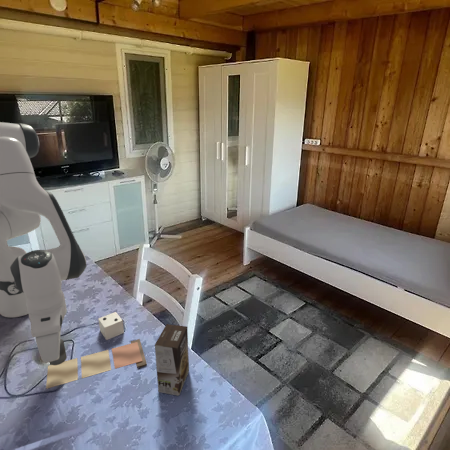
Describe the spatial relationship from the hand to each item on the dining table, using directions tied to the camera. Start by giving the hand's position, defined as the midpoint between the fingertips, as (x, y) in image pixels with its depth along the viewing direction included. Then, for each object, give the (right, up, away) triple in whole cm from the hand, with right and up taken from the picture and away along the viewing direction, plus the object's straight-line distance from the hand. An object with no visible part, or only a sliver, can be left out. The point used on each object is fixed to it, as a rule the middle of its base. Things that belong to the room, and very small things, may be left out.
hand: (56, 350), depth 92 cm
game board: (+9, -7, +6) cm, 13 cm away
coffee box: (+33, -9, +1) cm, 34 cm away
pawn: (0, -3, +1) cm, 3 cm away
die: (+9, -2, +20) cm, 22 cm away
